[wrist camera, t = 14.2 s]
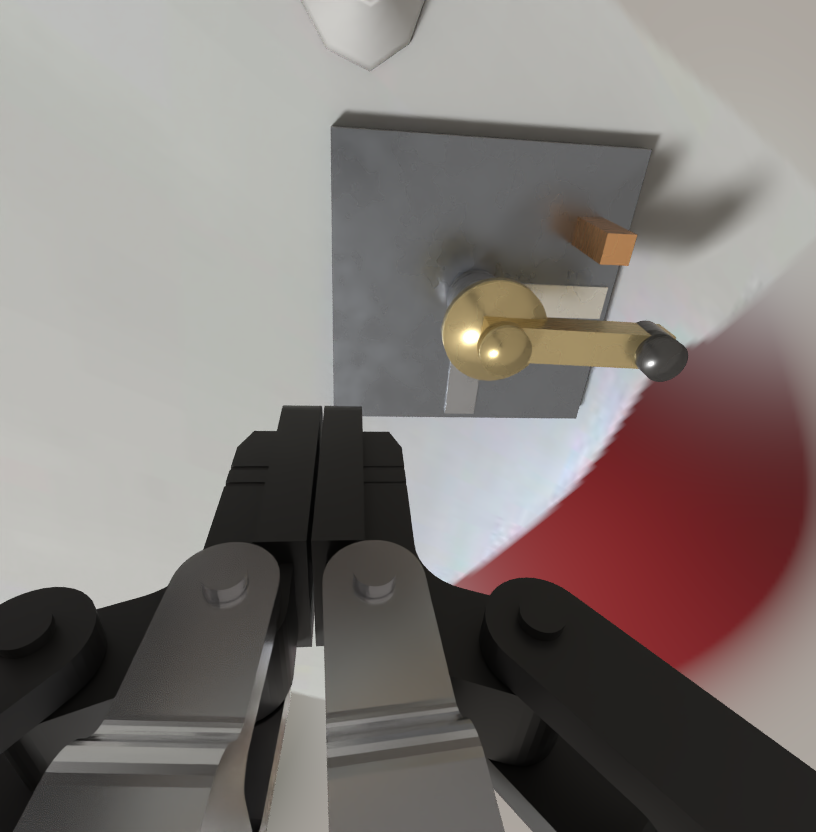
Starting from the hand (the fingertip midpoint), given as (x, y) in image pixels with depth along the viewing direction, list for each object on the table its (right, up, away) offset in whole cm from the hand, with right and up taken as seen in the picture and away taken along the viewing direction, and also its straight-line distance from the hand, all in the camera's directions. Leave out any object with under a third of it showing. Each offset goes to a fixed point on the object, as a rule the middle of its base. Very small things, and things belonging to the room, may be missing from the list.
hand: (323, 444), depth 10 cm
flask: (-1, +26, +21) cm, 33 cm away
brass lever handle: (+12, +6, +25) cm, 29 cm away
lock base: (+7, +10, +31) cm, 33 cm away
